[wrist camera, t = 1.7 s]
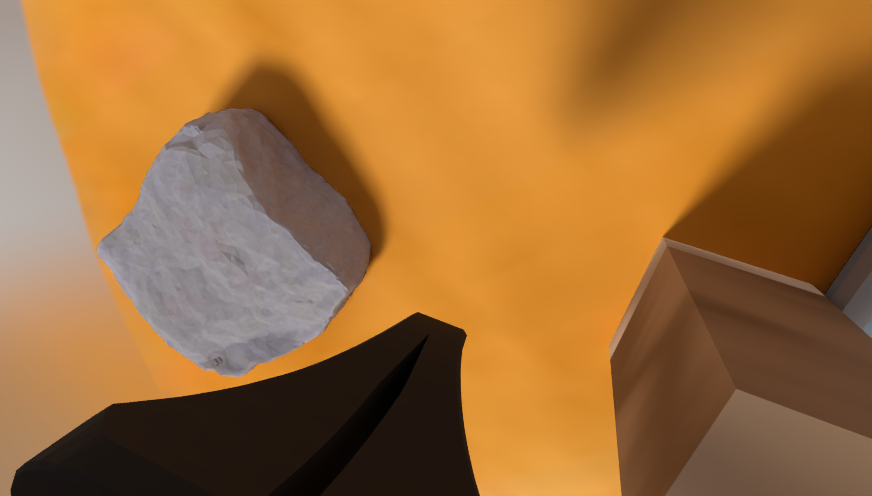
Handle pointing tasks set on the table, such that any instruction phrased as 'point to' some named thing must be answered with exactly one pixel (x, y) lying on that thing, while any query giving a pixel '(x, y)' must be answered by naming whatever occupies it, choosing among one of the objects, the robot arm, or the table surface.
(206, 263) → the stone block
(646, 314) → the walnut block
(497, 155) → the table surface
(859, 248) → the tipping mat
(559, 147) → the table surface
